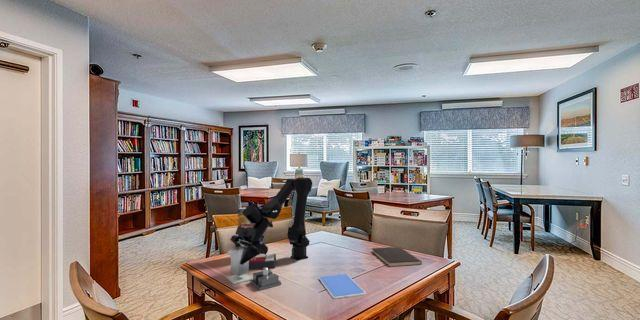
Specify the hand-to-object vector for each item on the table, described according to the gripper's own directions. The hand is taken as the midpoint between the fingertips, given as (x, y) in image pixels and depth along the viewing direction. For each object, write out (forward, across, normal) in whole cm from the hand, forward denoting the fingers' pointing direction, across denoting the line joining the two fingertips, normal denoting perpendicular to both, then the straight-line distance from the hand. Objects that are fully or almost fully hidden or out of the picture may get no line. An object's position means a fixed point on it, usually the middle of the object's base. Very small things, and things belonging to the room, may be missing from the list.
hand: (236, 262), depth 125 cm
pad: (+4, 0, +6) cm, 7 cm away
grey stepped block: (+3, 0, +3) cm, 5 cm away
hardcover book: (-41, +37, +52) cm, 76 cm away
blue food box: (-11, -20, +21) cm, 31 cm away
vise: (+2, +12, +8) cm, 14 cm away
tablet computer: (-9, +36, +21) cm, 42 cm away
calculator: (-7, -8, +18) cm, 21 cm away
